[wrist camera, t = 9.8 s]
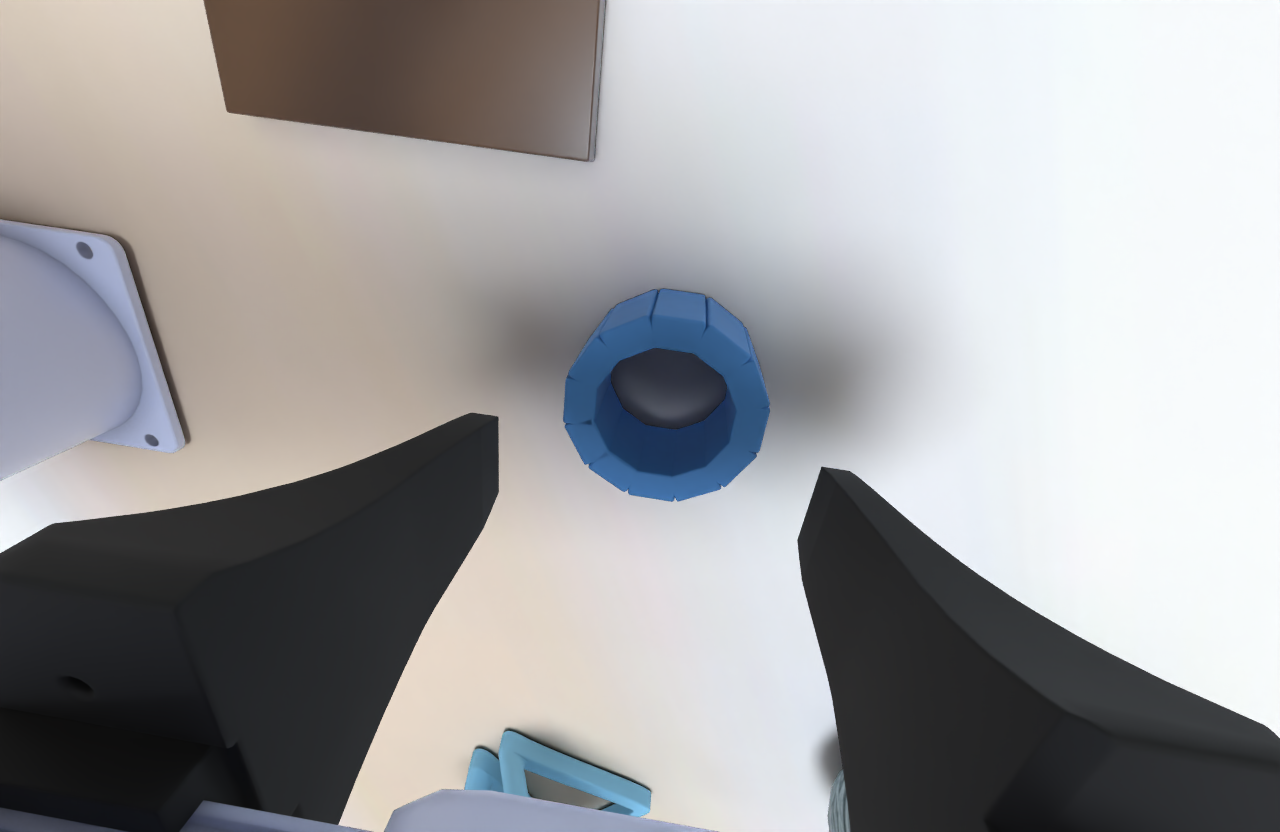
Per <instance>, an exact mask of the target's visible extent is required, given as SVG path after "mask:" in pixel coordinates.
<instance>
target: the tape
mask: <svg viewBox="0 0 1280 832" xmlns="http://www.w3.org/2000/svg"><path fill="white" fill-rule="evenodd" d="M653 348H660V349H666V350H673V351H680V352H686V353H693V354H695V355H696V356H697V357H699V358H700V359H701V360H702V361H704V362H705V363H706V364H708V365H709V366H710V367H711V368H713V369H714V370H715V371H717V372H718V373H719V374H721V375H722V376H723V377H724V380H725V383H726V385H727V390H726V395H725V399H724V400H723V401H722V403H721V404H720V405H719V406H718V407H717V408H716V409H715V410H714V411H713V412H712V413H711V414H710V415H709V416H708V417H707V418H706V419H705V420H704V421H702V422H699V423H695V424H692V425H689V426H686V427H683V428H680V429H677V430H675V429H668V428H662V427H655V426H649V425H645V424H644V423H642V422H641V421H640V420H638V419H637V418H636V417H634V416H633V415H631V414H630V413H629V412H627V411H626V410H624V409H623V407H622V405H621V403H620V401H619V399H618V397H617V395H616V393H615V390H614V388H613V386H612V384H611V372H612V370H613V368H614V367H615V366H616V365H617V363H618V362H619V361H621V360H623V359H626V358H629V357H631V356H634V355H637V354H640V353H642V352H645V351H648V350H650V349H653ZM568 374H569V375H568V376H567V378H566V382H565V399H564V416H563V421H564V422H565V423H566V424H565V429H566V431H567V432H568V434H569V436H570V438H571V440H572V442H573V444H574V446H575V447H576V449H577V451H578V453H579V455H580V457H581V459H582V461H583V462H584V464H589V466H588V467H589V468H590V469H591V470H592V471H594V472H595V473H597V474H598V475H599V476H601V477H602V478H604V479H605V480H607V481H608V482H610V483H611V484H613V485H614V486H616V487H617V488H619V489H620V490H621V491H623V492H625V491H627V490H628V493H629V495H634V496H640V497H647V498H653V499H659V500H665V501H671V502H672V501H674V498H676V500H677V501H682V500H685V499H689V498H692V497H696V496H699V495H703V494H706V493H710V492H713V491H717V490H720V489H721V485H722V486H723V487H725V486H727V485H728V484H729V483H730V482H731V481H732V480H733V479H734V478H735V477H736V476H737V475H738V474H739V473H740V472H741V471H742V470H743V469H744V468H745V467H747V466H748V465H749V464H750V463H751V462H752V461H753V460H754V459H755V458H756V457H757V455H756V453H758V452H759V451H760V447H761V444H762V440H763V436H764V432H765V428H766V424H767V421H768V417H769V413H770V408H769V405H770V402H769V398H768V395H767V391H766V387H765V384H764V380H763V376H762V373H761V369H760V366H759V363H758V360H757V357H756V354H755V351H754V348H753V345H752V342H751V340H750V337H749V334H748V331H747V328H746V327H743V324H742V322H741V321H739V320H738V319H737V318H736V317H734V316H733V315H732V314H731V313H729V312H728V311H727V310H726V309H724V308H723V307H722V306H721V305H719V304H718V303H717V302H716V301H715V300H713V299H712V298H710V297H709V298H707V299H705V295H703V294H697V293H690V292H683V291H677V290H670V289H660V291H659V293H658V291H657V290H655V289H654V290H651V291H649V292H647V293H644V294H642V295H639V296H637V297H634V298H632V299H629V300H627V301H624V302H622V303H619V304H617V305H616V306H615V308H614V309H613V308H612V309H611V310H610V311H609V312H608V314H607V315H606V316H605V318H604V319H603V320H602V322H601V323H600V325H599V326H598V327H597V329H596V330H595V331H594V333H593V334H592V335H591V337H590V338H589V339H588V341H587V343H586V344H585V346H584V348H583V349H582V351H581V352H580V354H579V356H578V357H577V359H576V361H575V362H574V364H573V365H572V367H571V369H570V370H569V373H568Z"/></svg>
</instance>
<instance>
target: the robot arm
mask: <svg viewBox="0 0 1280 832" xmlns="http://www.w3.org/2000/svg"><path fill="white" fill-rule="evenodd" d="M90 248H91V249H90ZM91 250H92V251H91ZM87 440H94V441H100V442H106V443H112V444H118V445H124V446H130V447H136V448H142V449H148V450H154V451H160V452H167V453H174V452H176V451H178V450H180V449H182V448H183V447H184V446H185V438H184V435H183V432H182V429H181V426H180V423H179V419H178V416H177V413H176V410H175V407H174V404H173V401H172V398H171V394H170V391H169V388H168V385H167V382H166V379H165V376H164V373H163V369H162V366H161V363H160V360H159V357H158V354H157V351H156V347H155V344H154V341H153V338H152V335H151V332H150V329H149V326H148V322H147V319H146V316H145V313H144V310H143V307H142V304H141V301H140V297H139V294H138V291H137V288H136V285H135V282H134V279H133V275H132V272H131V269H130V266H129V263H128V260H127V257H126V254H125V251H124V249H123V247H122V246H121V245H120V244H119V242H118V241H116V240H115V239H113V238H112V237H110V236H107V235H103V234H96V233H89V232H83V231H76V230H69V229H62V228H55V227H49V226H42V225H35V224H28V223H22V222H15V221H8V220H1V219H0V481H1V480H3V479H6V478H8V477H10V476H12V475H14V474H16V473H18V472H21V471H23V470H25V469H27V468H29V467H31V466H34V465H36V464H38V463H40V462H42V461H44V460H46V459H49V458H51V457H53V456H55V455H57V454H59V453H62V452H64V451H66V450H68V449H70V448H72V447H74V446H77V445H79V444H81V443H83V442H85V441H87ZM498 493H499V453H498V417H497V416H491V415H484V414H478V413H469V414H466V415H463V416H461V417H459V418H456V419H454V420H452V421H449V422H447V423H445V424H443V425H441V426H438V427H436V428H434V429H432V430H430V431H428V432H425V433H423V434H421V435H419V436H417V437H414V438H412V439H410V440H408V441H406V442H403V443H401V444H399V445H397V446H394V447H392V448H389V449H387V450H384V451H382V452H379V453H377V454H375V455H372V456H370V457H367V458H365V459H362V460H360V461H357V462H355V463H352V464H349V465H347V466H344V467H341V468H338V469H335V470H332V471H329V472H326V473H323V474H320V475H316V476H313V477H310V478H307V479H304V480H300V481H297V482H293V483H289V484H285V485H281V486H277V487H273V488H269V489H265V490H261V491H257V492H253V493H249V494H245V495H241V496H236V497H232V498H227V499H222V500H217V501H212V502H207V503H202V504H196V505H190V506H184V507H178V508H172V509H167V510H160V511H153V512H147V513H139V514H131V515H123V516H114V517H106V518H98V519H90V520H82V521H73V522H63V523H54V524H51V525H49V526H47V527H45V528H44V529H42V530H40V531H38V532H37V533H35V534H33V535H32V536H30V537H28V538H26V539H25V540H23V541H21V542H19V543H18V544H16V545H14V546H12V547H11V548H9V549H7V550H5V551H4V552H2V553H0V832H372V831H367V830H361V829H356V828H351V827H345V826H340V825H338V824H339V821H340V819H341V816H342V814H343V811H344V809H345V806H346V804H347V801H348V799H349V796H350V794H351V791H352V789H353V786H354V783H355V781H356V778H357V776H358V774H359V771H360V769H361V767H362V764H363V762H364V759H365V757H366V755H367V752H368V750H369V748H370V745H371V743H372V740H373V738H374V736H375V733H376V731H377V729H378V726H379V724H380V722H381V719H382V717H383V715H384V712H385V710H386V708H387V706H388V704H389V701H390V699H391V697H392V695H393V692H394V690H395V688H396V686H397V684H398V681H399V679H400V677H401V675H402V672H403V670H404V668H405V666H406V664H407V662H408V660H409V658H410V656H411V653H412V651H413V649H414V647H415V645H416V643H417V641H418V639H419V637H420V635H421V632H422V630H423V628H424V626H425V625H426V623H427V621H428V619H429V617H430V616H431V614H432V612H433V610H434V608H435V607H436V605H437V604H438V602H439V600H440V599H441V597H442V595H443V594H444V592H445V591H446V589H447V587H448V586H449V584H450V582H451V581H452V579H453V578H454V576H455V574H456V573H457V571H458V569H459V568H460V566H461V565H462V563H463V561H464V560H465V558H466V556H467V555H468V553H469V551H470V550H471V548H472V546H473V545H474V543H475V541H476V540H477V538H478V536H479V535H480V533H481V531H482V530H483V528H484V525H485V523H486V521H487V519H488V516H489V514H490V512H491V510H492V507H493V505H494V502H495V500H496V497H497V495H498ZM798 550H799V560H800V568H801V576H802V582H803V586H804V590H805V594H806V598H807V602H808V606H809V609H810V613H811V617H812V621H813V624H814V628H815V632H816V636H817V639H818V643H819V647H820V650H821V654H822V658H823V662H824V665H825V669H826V673H827V677H828V681H829V686H830V690H831V695H832V700H833V706H834V713H835V719H836V725H837V732H838V738H839V744H840V751H841V759H842V766H843V774H844V781H845V789H846V796H847V804H848V813H849V822H850V832H1280V738H1279V737H1278V736H1277V735H1276V734H1275V733H1274V732H1272V731H1271V730H1270V729H1269V728H1268V727H1266V726H1265V725H1263V724H1260V723H1258V722H1256V721H1254V720H1251V719H1249V718H1247V717H1245V716H1242V715H1240V714H1238V713H1236V712H1234V711H1231V710H1229V709H1227V708H1225V707H1222V706H1220V705H1218V704H1216V703H1213V702H1211V701H1209V700H1207V699H1204V698H1202V697H1200V696H1198V695H1195V694H1193V693H1191V692H1189V691H1186V690H1184V689H1182V688H1180V687H1177V686H1175V685H1173V684H1171V683H1169V682H1166V681H1164V680H1162V679H1160V678H1158V677H1156V676H1154V675H1152V674H1150V673H1148V672H1146V671H1144V670H1142V669H1140V668H1138V667H1136V666H1134V665H1132V664H1130V663H1128V662H1126V661H1124V660H1122V659H1120V658H1118V657H1116V656H1114V655H1112V654H1110V653H1108V652H1106V651H1104V650H1103V649H1101V648H1099V647H1097V646H1095V645H1093V644H1091V643H1090V642H1088V641H1086V640H1084V639H1082V638H1080V637H1078V636H1077V635H1075V634H1073V633H1071V632H1070V631H1068V630H1066V629H1064V628H1063V627H1061V626H1059V625H1057V624H1056V623H1054V622H1052V621H1051V620H1049V619H1047V618H1045V617H1044V616H1042V615H1040V614H1039V613H1037V612H1035V611H1033V610H1032V609H1030V608H1029V607H1027V606H1025V605H1024V604H1022V603H1021V602H1019V601H1017V600H1016V599H1014V598H1013V597H1011V596H1010V595H1008V594H1007V593H1005V592H1004V591H1002V590H1001V589H999V588H998V587H996V586H995V585H993V584H992V583H990V582H989V581H987V580H986V579H984V578H983V577H981V576H980V575H978V574H977V573H975V572H974V571H973V570H971V569H970V568H968V567H967V566H966V565H964V564H963V563H962V562H960V561H959V560H958V559H956V558H955V557H954V556H952V555H951V554H950V553H949V552H947V551H946V550H945V549H943V548H942V547H941V546H939V545H938V544H937V543H936V542H934V541H933V540H932V539H931V538H929V537H928V536H927V535H926V534H924V533H923V532H922V531H921V530H920V529H918V528H917V527H916V526H915V525H914V524H912V523H911V522H910V521H909V520H908V519H907V518H905V517H904V516H903V515H902V514H901V513H900V512H898V511H897V510H896V509H895V508H894V507H893V506H892V505H890V504H889V503H888V502H887V501H886V500H885V499H884V498H882V497H881V496H880V495H879V494H878V493H877V492H875V491H874V490H873V489H872V488H871V487H870V486H868V485H867V484H866V483H865V482H864V481H862V480H861V479H860V478H859V477H857V476H856V475H855V474H853V473H852V472H850V471H846V470H839V469H833V468H826V467H821V470H820V473H819V476H818V479H817V482H816V485H815V488H814V492H813V495H812V498H811V501H810V504H809V507H808V510H807V513H806V516H805V519H804V522H803V525H802V528H801V531H800V534H799V537H798ZM384 832H718V831H712V830H707V829H701V828H695V827H690V826H684V825H679V824H673V823H668V822H662V821H657V820H651V819H646V818H640V817H635V816H629V815H624V814H618V813H613V812H607V811H601V810H596V809H590V808H585V807H579V806H574V805H568V804H563V803H557V802H552V801H546V800H541V799H535V798H530V797H524V796H519V795H513V794H507V793H502V792H496V791H488V790H452V789H441V790H439V791H437V792H434V793H432V794H429V795H427V796H425V797H422V798H420V799H417V800H415V801H412V802H410V803H408V804H406V805H404V806H402V807H400V808H398V809H396V810H394V811H393V813H392V815H391V818H390V820H389V822H388V824H387V826H386V828H385V830H384Z"/></svg>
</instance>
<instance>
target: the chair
mask: <svg viewBox="0 0 1280 832" xmlns="http://www.w3.org/2000/svg"><path fill="white" fill-rule="evenodd" d="M498 753H499V760H498V759H497V758H496V757H495V756H494V755H492V754H491V753H489V752H488V751H486V750H484V749H475V750H474V752H473V755H472V759H471V762H470V766H469V770H468V775H467V780H466V784H465V789H464V790H488V791H496V792H502V793H507V794H513V795H519V796H524V797H530V798H532V797H531V796H530V795H529V794H528V790H527V784H526V778H525V772H524V769H525V770H527V771H530V772H532V773H535V774H538V775H540V776H543V777H546V778H548V779H551V780H554V781H556V782H559V783H562V784H565V785H567V786H570V787H573V788H575V789H578V790H581V791H584V792H586V793H589V794H592V795H594V796H597V797H600V798H603V799H605V800H608V801H611V802H613V803H616V804H613V805H611V806H609V807H607V808H605V809H602V810H601V811H607V812H613V813H618V814H624V815H629V816H635V817H641V816H643V815H645V814H647V813H649V812H650V802H651V792H650V791H649V790H648V789H646V788H644V787H642V786H640V785H638V784H635V783H633V782H631V781H629V780H626V779H624V778H621V777H619V776H616V775H614V774H611V773H609V772H606V771H604V770H601V769H599V768H596V767H594V766H591V765H589V764H586V763H584V762H581V761H579V760H576V759H574V758H572V757H569V756H567V755H564V754H562V753H559V752H557V751H554V750H552V749H550V748H547V747H545V746H543V745H541V744H538V743H536V742H534V741H532V740H530V739H528V738H526V737H524V736H522V735H520V734H518V733H515V732H512V731H506V732H504V733H503V735H502V739H501V743H500V748H499V752H498Z"/></svg>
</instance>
